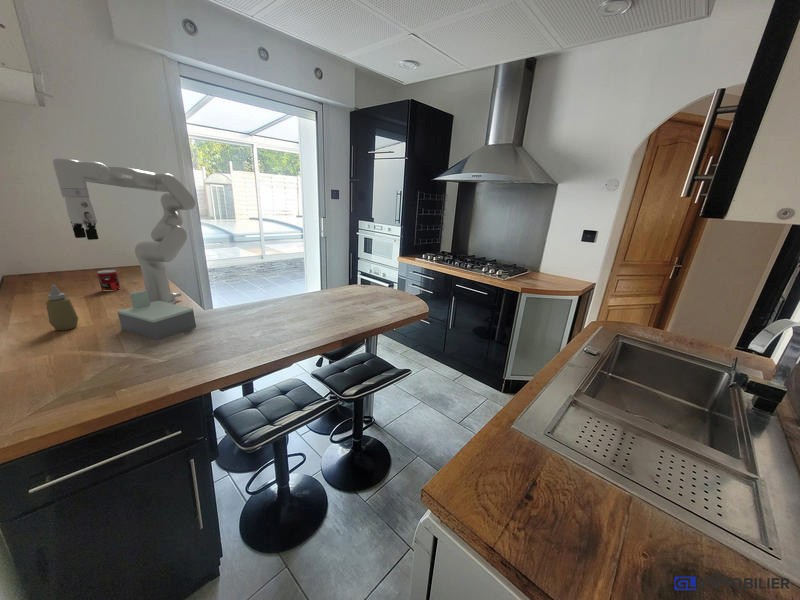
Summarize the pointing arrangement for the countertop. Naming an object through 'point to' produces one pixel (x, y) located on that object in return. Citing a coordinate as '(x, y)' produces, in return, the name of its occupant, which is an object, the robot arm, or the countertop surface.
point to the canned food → (108, 279)
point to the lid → (152, 308)
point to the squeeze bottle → (60, 311)
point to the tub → (158, 325)
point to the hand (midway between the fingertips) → (86, 238)
